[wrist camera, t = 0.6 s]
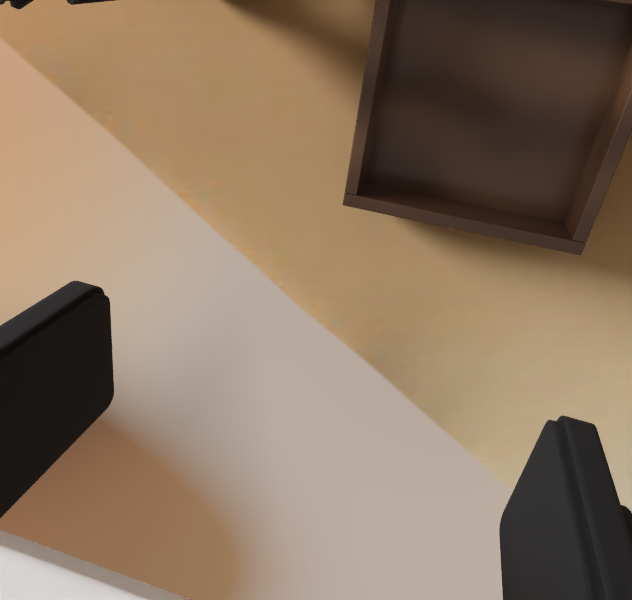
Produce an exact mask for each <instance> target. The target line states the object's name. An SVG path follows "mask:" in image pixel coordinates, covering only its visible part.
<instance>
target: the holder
mask: <svg viewBox="0 0 632 600" xmlns="http://www.w3.org/2000/svg"><path fill="white" fill-rule="evenodd" d="M5 1H10V3H11V6H12V7H14V8H16V9H21V8H23V7H24V6H26V5H27V4H29V3H30V2H32V1H33V0H0V5H1V4H3V3H4V2H5ZM104 1H114V0H67V2H68V3H70V4H71V5H73V4H83V3H93V2H104Z"/></svg>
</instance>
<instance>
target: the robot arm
mask: <svg viewBox="0 0 632 600" xmlns="http://www.w3.org/2000/svg"><path fill="white" fill-rule="evenodd" d="M113 395H114V383H113V361H112V339H111V317H110V301H109V298H108V297H107V296H105V295H104V292H103V290H102V289H101V288H100V287H97V286H94V285H90V284H87V283H83V282H79V281H73V282H70V283H68V284H67V285H65V286H64V287H62V288H60V289H59V290H57V291H56V292H54V293H53V294H51V295H49V296H48V297H46V298H44V299H43V300H41V301H39V302H38V303H36V304H35V305H33V306H31V307H30V308H28V309H27V310H25V311H24V312H22V313H20V314H19V315H17V316H15V317H14V318H12V319H11V320H9V321H7V322H6V323H4V324H2V325H1V326H0V518H1V517H2V516H3V515H4V514H5V513H6V512H7V511H8V510H9V509H10V508H11V507H12V506H13V504H15V502H17V500H18V499H19V498H20V497H21V496H22V495H23V494H24V493H25V492H26V491H27V490H28V489H29V488H30V487H31V486H32V485H33V484H34V483H35V482H36V481H37V480H38V479H39V478H40V477H41V476H42V475H43V474H44V473H45V472H46V471H47V470H48V469H49V468H50V467H51V465H53V463H54V462H55V461H56V460H57V459H58V458H59V457H60V456H61V455H62V454H63V453H64V452H65V451H66V450H67V449H68V448H69V447H70V446H71V445H72V444H73V443H74V442H75V441H76V440H77V439H78V438H79V437H80V436H81V435H82V434H83V433H84V432H85V431H86V429H87V428H89V426H90V425H91V424H92V423H93V422H94V421H95V420H96V419H97V418H98V417H99V416H100V415H101V414H102V413H103V412H104V411H105V410H106V409H107V408H108V407H109V405H110V403H111V401H112V398H113ZM500 550H501V569H502V587H503V600H632V513H631V511H630V510H629V509H628V508H627V507H626V506H622V505H620V502H619V499H618V495H617V492H616V489H615V486H614V483H613V479H612V476H611V473H610V470H609V467H608V463H607V460H606V457H605V454H604V451H603V448H602V444H601V441H600V438H599V435H598V432H597V429H596V427H595V425H594V424H592V423H588V422H584V421H581V420H577V419H574V418H570V417H566V416H560V417H559V418H558V420H557V421H552V420H548V421H547V422H546V424H545V426H544V428H543V430H542V432H541V434H540V436H539V438H538V440H537V443H536V445H535V447H534V449H533V451H532V453H531V455H530V457H529V459H528V461H527V464H526V466H525V468H524V470H523V472H522V474H521V476H520V478H519V480H518V483H517V485H516V487H515V489H514V491H513V493H512V495H511V497H510V499H509V502H508V504H507V506H506V508H505V510H504V512H503V515H502V518H501V523H500ZM0 600H191V599H188V598H185V597H183V596H180V595H177V594H175V593H172V592H169V591H167V590H164V589H161V588H158V587H156V586H153V585H150V584H148V583H145V582H142V581H139V580H137V579H134V578H131V577H128V576H126V575H123V574H120V573H118V572H115V571H112V570H109V569H107V568H104V567H101V566H98V565H96V564H93V563H91V562H88V561H85V560H82V559H80V558H77V557H74V556H71V555H69V554H66V553H63V552H60V551H58V550H55V549H52V548H49V547H46V546H44V545H41V544H38V543H35V542H33V541H30V540H27V539H24V538H22V537H19V536H16V535H13V534H11V533H8V532H5V531H2V530H0Z"/></svg>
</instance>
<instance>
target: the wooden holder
mask: <svg viewBox="0 0 632 600" xmlns="http://www.w3.org/2000/svg"><path fill="white" fill-rule="evenodd" d="M631 131H632V0H376V3H375V10H374V16H373V22H372V28H371V34H370V40H369V47H368V53H367V59H366V65H365V71H364V77H363V84H362V90H361V96H360V102H359V108H358V114H357V121H356V127H355V133H354V139H353V145H352V151H351V158H350V164H349V170H348V176H347V182H346V188H345V194H344V200H343V205H345V206H350V207H354V208H359V209H364V210H368V211H373V212H378V213H383V214H387V215H392V216H397V217H401V218H406V219H411V220H416V221H420V222H425V223H430V224H434V225H439V226H444V227H449V228H453V229H458V230H463V231H467V232H472V233H477V234H482V235H486V236H491V237H496V238H500V239H505V240H510V241H515V242H519V243H524V244H529V245H533V246H538V247H543V248H548V249H552V250H557V251H562V252H566V253H571V254H576V255H581V254H582V252H583V249H584V247H585V244H586V242H587V239H588V237H589V234H590V232H591V229H592V227H593V224H594V222H595V219H596V217H597V215H598V212H599V210H600V207H601V205H602V202H603V200H604V197H605V195H606V192H607V190H608V187H609V185H610V183H611V180H612V178H613V175H614V173H615V170H616V168H617V165H618V163H619V160H620V158H621V155H622V153H623V151H624V148H625V146H626V143H627V141H628V138H629V136H630V133H631Z"/></svg>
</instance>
